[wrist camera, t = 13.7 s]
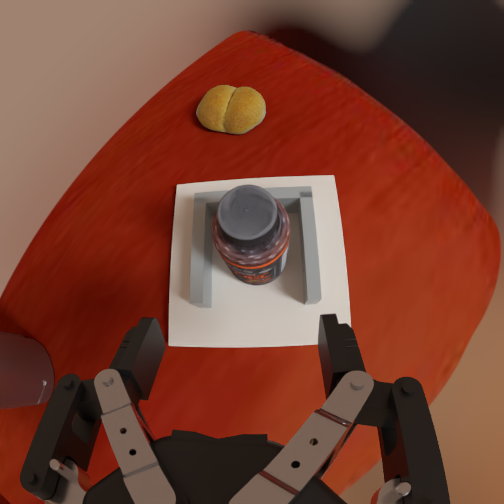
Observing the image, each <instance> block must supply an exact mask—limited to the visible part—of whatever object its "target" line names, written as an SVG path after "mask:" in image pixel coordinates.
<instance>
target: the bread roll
mask: <svg viewBox="0 0 504 504" xmlns="http://www.w3.org/2000/svg"><path fill="white" fill-rule="evenodd" d="M265 114H266V106H265V101H264V99H263V98H262V96H261V95H260V94H259V93H258V92H257V91H255V90H254V89H252V88H250V87H240V88H235V87H232V86H229V85H219V86H216V87H214V88H212V89H210V90H209V91H208V92H207V93H206V94H205V96H204V97H203V99H202V100H201V102H200V104H199V105H198V108H197V111H196V115H197V117H198V119H199V121H200V123H201V124H202V125H203V126H204V127H206V128H208V129H210V130H213V131H218V132H226V133H230V134H243V133H246V132H247V131H249V130H251V129H252V128H254V127H255V126H256V125H258V124H259V123H261V122H262V120H263V119H264V117H265Z"/></svg>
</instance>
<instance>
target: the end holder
mask: <svg viewBox="0 0 504 504" xmlns="http://www.w3.org/2000/svg"><path fill="white" fill-rule="evenodd" d="M248 184H250V185H256V186H260V187H262V188H264V189H265V190H266V191H268V192H269V193H270V194H271V195H272V196H273V197H274V198H276V199H277V200H278V201H279V202H280V203H281V204H282V205H283V206H284V208H285V210H286V212H287V214H288V217H289V221H290V240H289V248H288V257H287V262H286V265H285V268H284V270H283V272H282V273H281V274H280V276H279V277H278V278H277V279H275V280H274V281H272V282H270V283H268V284H264V285H257V286H255V285H249V284H246V283H244V282H242V281H240V280H239V279H238V278H236V277H235V276H234V275H233V273H232V272H231V271H230V269H229V268H228V266H227V264H226V263H225V261H224V260H223V258H222V257H221V255H220V254H219V252H218V250H217V249H216V247H215V245H214V242H213V238H212V233H211V226H212V220H213V217H214V215H215V213H216V211H217V208H218V205H219V202H220V200H221V199H222V197H223V196H224V195H225V194H226V193H227V192H228V191H230V190H231V189H233V188H235V187H237V186H241V185H248ZM334 313H335V314H336V315H337V319H338V323H339V324H343V323H347V324H348V325H349V326H350V327H351V319H350V303H349V290H348V279H347V268H346V258H345V249H344V241H343V233H342V225H341V217H340V210H339V204H338V197H337V191H336V184H335V178H334V175H327V176H290V177H268V178H251V179H236V180H223V181H211V182H200V183H189V184H180V185H177V190H176V200H175V210H174V222H173V235H172V250H171V268H170V291H169V346H185V347H275V346H298V345H314V344H318V332H319V320H320V315H321V314H334Z"/></svg>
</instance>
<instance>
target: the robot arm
mask: <svg viewBox="0 0 504 504" xmlns="http://www.w3.org/2000/svg"><path fill="white" fill-rule="evenodd" d="M318 350H319V356H320V362H321V368H322V374H323V381H324V387H325V394H326V402H325V403H324V404H323V406H322V407H321V408H320V409H319V410H318V409H317V410H315V411H314V412H313V413H312V414H311V416H310V417H309V418H308V419H307V421H306V422H305V423H304V424H303V426H302V427H301V428H300V429H299V430H298V432H297V433H296V434H295V435H294V436H293V438H292V439H291V440H290V441H289V442H288V444H287V445H286V446H284V445H281V444H279V443H277V442H273V441H269V440H268V439H267V434H242V435H237V436H232V437H226V438H220V439H217V438H213V437H209V436H206V435H203V434H200V433H197V432H190V431H181V430H173V431H172V435H171V436H167V437H163V438H160V439H156V438H155V436H154V435H153V433H152V431H151V429H150V427H149V425H148V423H147V421H146V419H145V417H144V415H143V413H142V411H141V409H140V407H139V405H138V403H139V400H140V399H141V400H148V398H149V395H150V392H151V389H152V386H153V383H154V380H155V377H156V374H157V371H158V368H159V365H160V362H161V360H162V357H163V354H164V351H165V340H164V337H163V334H162V331H161V328H160V325H159V322H158V320H157V318H146V317H142V318H141V319H140V321H139V323H138V325H137V327H132V328H131V329H130V330H129V331H128V332H127V333H126V335H125V337H124V339H123V342H122V343H121V345H120V348H119V349H118V351H117V353H116V355H115V357H114V359H113V361H112V363H111V365H110V367H109V369H106V370H103V371H101V372H100V373H99V374H98V375H97V376H96V377H95V379H90V380H83V381H81V380H80V378H79V377H78V376H77V375H75V374H67V375H65V376H63V377H62V378H61V379H60V380H59V382H58V384H57V386H56V388H55V390H54V392H53V388H54V372H53V367H52V363H51V360H50V358H49V356H48V353H47V352H46V350H45V349H44V347H43V346H42V345H41V344H40V343H39V342H37V341H36V340H34V339H29V338H25V337H24V336H23V335H19V334H12V333H6V332H0V409H7V408H16V407H24V406H31V405H38V404H43V403H45V402H47V401H48V400H49V399H50V401H49V403H48V405H47V407H46V410H45V412H44V414H43V416H42V419H41V421H40V423H39V426H38V428H37V431H36V433H35V436H34V438H33V441H32V443H31V446H30V448H29V451H28V454H27V457H26V459H25V462H24V465H23V468H22V471H21V474H20V482H21V484H22V486H23V488H24V489H25V490H27V491H28V492H30V493H32V494H33V495H35V496H36V497H38V498H39V499H41V500H42V501H44V502H46V503H48V504H347V503H346V502H345V501H344V500H342V499H341V498H340V497H339V496H338V495H337V494H336V493H335V492H334V491H333V490H332V489H330V488H329V487H328V486H327V485H326V484H325V483H324V482H323V481H322V480H321V478H322V477H323V476H324V474H325V473H326V472H327V470H328V469H329V468H330V466H331V465H332V463H333V462H334V460H335V459H336V457H337V455H338V454H339V452H340V451H341V449H342V448H343V446H344V445H345V443H346V442H347V440H348V439H349V437H350V436H351V434H352V432H353V431H354V429H355V428H356V426H357V425H358V424H361V425H368V426H376V427H377V428H378V435H379V441H380V448H381V456H382V462H383V472H384V480H385V484H384V485H383V486H382V487H381V488H379V489H378V490H377V491H376V492H375V493H374V495H373V496H372V499H371V504H450V499H449V493H448V487H447V481H446V476H445V471H444V467H443V462H442V458H441V453H440V449H439V445H438V441H437V437H436V433H435V429H434V425H433V422H432V418H431V415H430V411H429V408H428V404H427V401H426V398H425V394H424V391H423V388H422V386H421V384H420V383H419V381H417V380H416V379H414V378H412V377H401V378H399V379H397V380H396V381H395V382H394V384H393V383H384V382H379V381H376V380H374V379H372V377H371V376H370V375H369V374H367V373H366V370H365V367H364V364H363V360H362V357H361V354H360V350H359V347H358V344H357V340H356V337H355V334H354V331H353V329H352V328H351V327H350V326H349V325H348V324H347V323H343V324H339V323H338V319H337V315H336V314H335V313H334V314H321V315H320V320H319V332H318ZM52 392H53V394H52ZM51 395H52V396H51ZM50 397H51V398H50ZM75 414H76V416H75ZM74 416H75V418H74ZM73 419H74V421H73ZM72 422H73V424H72ZM101 422H103V424H104V427H105V430H106V433H107V436H108V438H109V441H110V444H111V446H112V449H113V451H114V454H115V456H116V459H117V461H118V464H119V466H120V467H119V468H117V469H116V470H115V471H113V472H112V473H110V474H109V475H108V476H106V477H105V478H103V479H102V480H101V481H99V482H98V483H96V484H95V485H93V486H91V484H90V477H89V475H88V473H87V469H88V466H89V462H90V458H91V455H92V451H93V448H94V445H95V441H96V438H97V435H98V432H99V428H100V425H101Z"/></svg>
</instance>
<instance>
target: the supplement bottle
mask: <svg viewBox="0 0 504 504" xmlns="http://www.w3.org/2000/svg"><path fill="white" fill-rule="evenodd" d="M211 233H212V238H213V242H214V245H215V247H216V249H217V250H218V252H219V254H220V255H221V257H222V258H223V260H224V261H225V263H226V264H227V266H228V268H229V269H230V271H231V272H232V273H233V275H234V276H235V277H236V278H238V279H239V280H240V281H242V282H244V283H246V284H249V285H255V286H257V285H264V284H268V283H270V282H272V281H274V280H275V279H277V278H278V277H279V276H280V274H281V273H282V272H283V270H284V268H285V265H286V262H287V257H288V248H289V240H290V221H289V217H288V214H287V212H286V210H285V208H284V206H283V205H282V204H281V203H280V202H279V201H278V200H277V199H276V198H274V197H273V196H272V195H271V194H270V193H269V192H268V191H266V190H265V189H264V188H262V187H260V186H256V185H250V184H248V185H241V186H237V187H235V188H233V189H231V190H230V191H228V192H227V193H226V194H225V195H224V196H223V197H222V199H221V200H220V202H219V205H218V208H217V211H216V213H215V215H214V217H213V220H212V226H211Z"/></svg>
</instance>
